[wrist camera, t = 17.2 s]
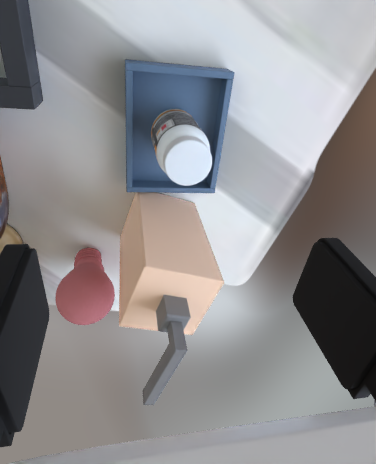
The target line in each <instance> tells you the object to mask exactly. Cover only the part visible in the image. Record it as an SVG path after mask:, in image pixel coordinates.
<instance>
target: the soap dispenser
mask: <svg viewBox="0 0 376 464" xmlns="http://www.w3.org/2000/svg"><path fill="white" fill-rule="evenodd" d="M223 284H224V280H223V278H222V275H221V272H220V270H219V267H218V264H217V262H216V259H215V256H214V254H213V251H212V249H211V246H210V243H209V241H208V238H207V235H206V233H205V230H204V227H203V225H202V222H201V219H200V217H199V214H198V211H197V209H196V206H195V204H194V203H192V202H189V201H185V200H182V199H178V198H175V197H171V196H168V195H164V194H161V193H157V192H136V193H135V195H134V198H133V201H132V204H131V207H130V210H129V213H128V216H127V218H126V221H125V224H124V227H123V230H122V233H121V236H120V295H119V326H121V327H129V328H137V329H147V330H154V331H161V332H168V337H169V345H168V347H167V349H166V350H165V352H164V354H163V356H162V357H161V359H160V361H159V363H158V365H157V366H156V368H155V370H154V372H153V373H152V375H151V377H150V379H149V381H148V382H147V384H146V386H145V388H144V389H143V404H144V405H154V404H155V402H156V401H157V399H158V397H159V396H160V394H161V393H162V391H163V389H164V388H165V386H166V384H167V383H168V381H169V379H170V378H171V376H172V375H173V373H174V371H175V369H176V368H177V367H178V365H179V363H180V362H181V360H182V358H183V357H184V355H185V354H186V352H187V346H186V341H185V336H184V334H188V335H193V334H194V332H195V330H196V329H197V327H198V325H199V324H200V322H201V320H202V319H203V317H204V315H205V314H206V312H207V310H208V309H209V307H210V306H211V304H212V302H213V301H214V299H215V297H216V296H217V294H218V292H219V291H220V289H221V287H222V286H223Z"/></svg>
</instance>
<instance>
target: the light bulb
mask: <svg viewBox="0 0 376 464" xmlns="http://www.w3.org/2000/svg"><path fill="white" fill-rule="evenodd" d="M114 296H115V294H114V287H113V284H112V282H111V280H110V279H109V277H108V276H107V274H106V273H105V272H104V267H103V265H102V259H101V254H100V252H99V251H98V250H96V249H94V248H85V249H82V250H80V251H79V252H78V253H77V255H76V257H75V262H74V269H73V270H72V271H71V272H70V273H68V274H67V275H66V276H65V277H64V278H63V279H62V281H61V282H60V284H59V286H58V288H57V291H56V305H57V308H58V310H59V312H60V314H61V315H62V316H63V317H64V318H65V319H66V320H68V321H69V322H71V323H74V324H78V325H89V324H92V323H95V322H97V321H99V320H101V319H102V318H104V317H105V316H106V314H108V312H109V311H110V309H111V307H112V305H113V302H114Z"/></svg>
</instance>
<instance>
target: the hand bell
mask: <svg viewBox="0 0 376 464" xmlns="http://www.w3.org/2000/svg"><path fill="white" fill-rule="evenodd" d="M7 244H23V242H22V239H21V237H20V235H19V234H18V233H17V232H16V231H15V230H14V229H13V228H12V227H11V226H9V225H8V224H6V228H5V231H4V233H3V235H2V238H1V239H0V254H1V252H2V250H3V248H4V246H5V245H7Z"/></svg>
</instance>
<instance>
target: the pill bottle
mask: <svg viewBox="0 0 376 464" xmlns="http://www.w3.org/2000/svg"><path fill="white" fill-rule="evenodd" d="M151 139H152V143H153V147H154V150H155V154H156V158H157V161H158V164H159V166H160V167H161V169H162V170H163V171H164V172H165V173H166V174H167V175H168V177H169V178H170V179H171V180H172V181H173V182H175V183H177V184H179V185H184V186H189V185H194V184H197V183H199V182H201V181H202V180H203V179H204V178H205V177H206V176H207V175H208V173H209V172H210V169H211V166H212V156H211V153H210V145H209V141H208V139H207V137H206V135H205V134H204V132H203V131H202V130H201V128H200V127H199V126H198V124H197V123H196V121H195V120H194V119H193V117H192V116H191V115H190V114H188V113H187V112H185V111H183V110H180V109H170V110H166V111H164V112H163V113H161V114H160V115H159V116H158V117H157V118H156V119H155V121H154V123H153V125H152V128H151Z"/></svg>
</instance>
